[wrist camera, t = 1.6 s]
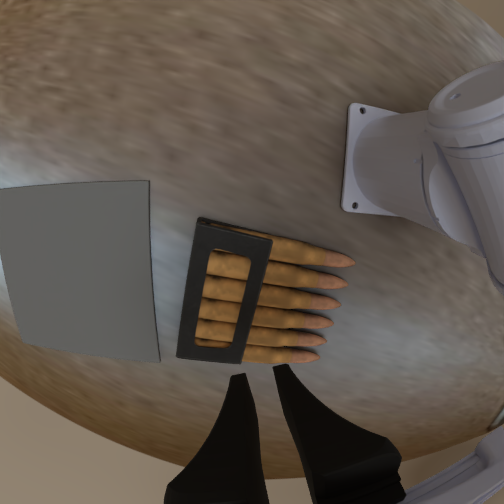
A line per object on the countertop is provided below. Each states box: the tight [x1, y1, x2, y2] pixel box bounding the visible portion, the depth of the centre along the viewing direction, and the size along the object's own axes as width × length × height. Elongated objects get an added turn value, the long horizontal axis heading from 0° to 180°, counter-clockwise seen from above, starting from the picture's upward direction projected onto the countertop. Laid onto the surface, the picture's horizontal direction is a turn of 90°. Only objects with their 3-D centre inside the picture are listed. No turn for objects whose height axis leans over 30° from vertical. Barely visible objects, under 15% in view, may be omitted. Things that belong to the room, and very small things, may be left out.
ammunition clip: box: [176, 217, 355, 364], centre depth 22 cm, size 11×2×12 cm
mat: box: [0, 181, 160, 363], centre depth 21 cm, size 15×15×1 cm
